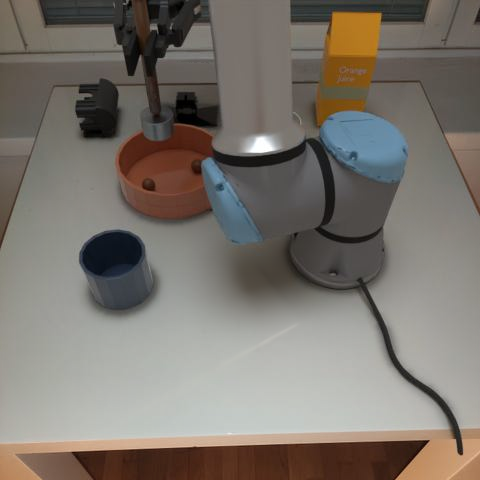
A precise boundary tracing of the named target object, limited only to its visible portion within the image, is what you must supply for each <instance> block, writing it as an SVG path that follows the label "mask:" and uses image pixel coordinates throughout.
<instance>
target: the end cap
mask: <svg viewBox="0 0 480 480" xmlns="http://www.w3.org/2000/svg"><path fill="white" fill-rule="evenodd" d="M77 92H78V94H88V95H91V96H84V97H83V99H76V102H75V105H74V111H75V115H76V118H77V119H83V120H82V122H78V125H79V128H80V131H82V135H83V137H84V138H102V137H106V136H108V135H109V134H111V133H112V132H113V131H114V129H115V127H116V121H117V114H118V107H119V106H118V105H119V99H120V97H119V96H120V95H119V90H118V87H117V86H116V85H115V83H113V82H112V81H111V80H109V79H106V78H102V77H100V78H99V82H98V83H79V87H78V91H77Z"/></svg>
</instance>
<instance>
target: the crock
mask: <svg viewBox="0 0 480 480" xmlns="http://www.w3.org/2000/svg"><path fill="white" fill-rule="evenodd" d="M78 253H79V254H78V264H79V266H80V268H81V270H82V273H83V275H84V278H85V281H86V282H87V285H88V287H89V290H90V292H91V294H92V296H93V298H94V299H95V302H97V303H98V304H99V305H100V306H102V307H104V308H106V309H109V310H117V311H120V310H121V311H122V310H127V309H132V308H134V307H136V306H138V305H140V304H142V303H143V302H144V301H145V300H146V299H147V298H148V297H149V296H150V295H151V292H152V289H153V287H154V281H153V273H152V270H151V265H150V260H149V257H148V253H147V248H146V244H145V243H144V241H143V240H142V239H141V237H140V236H138V235H137V234H135V233H133V232H132V231H130V230H124V229H120V228H119V229H118V228H117V229H108V230H103V231H101V232H98V233H95V234H94V235H92V236H91V237H90V238H89V239H88V240H87V241H85V242H84V243H83V245H82V247H81V249H80V250H79V252H78Z"/></svg>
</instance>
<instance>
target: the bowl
mask: <svg viewBox="0 0 480 480" xmlns="http://www.w3.org/2000/svg"><path fill="white" fill-rule="evenodd" d="M174 128H175V132H174V134H173V135H172V136H171V137H170V138H169V139H166V140H163V141H153V140H149V139H147V138H146V137H145V136H144V134H143V129H140V130H139V131H137V132H135V133H134V134H132V135H130V136H129V137H128V138H126V140H125V141H123V142H122V143H121V145H120V146H119V148H118V150H117V151H116V154H115V161H114V164H115V165H114V166H115V168H116V169H115V170H116V173H117V177H118V180H119V184H120V189H121V192H122V196H123V197H124V199H125V201H126V202H127V203H128V204H129V205H130V206H131V207H132V208H133V209H134V210H136V211H137V212H139V213H141V214H143V215H145V216H148V217H150V218H151V217H152V218H155V219H162V220H180V219H187V218H191V217H193V216H196V215H199V214H202V213H203V212H205V211H207V210H213V209H212V207H211V204H210V201H209V198H208V195H207V192H206V188H205V185H204V181H203V177H202V171H201V172H199V173H196V172H194V171H193V170H192V168H191V163H192V161H193V160H195V159H200V160H201V161H203V160H206V159H207V157H211V158H213V150H212V138H213V137H214V136H215V134H214V133H212V132H210V131H208V130H206V129H205V128H203V127H196V126H193V125H187V124H174ZM146 178H150V179H152V180H153V181H154V182H155V189H154V190H153V191H147V190H145V189H143V188H142V181H143V180H144V179H146Z"/></svg>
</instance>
